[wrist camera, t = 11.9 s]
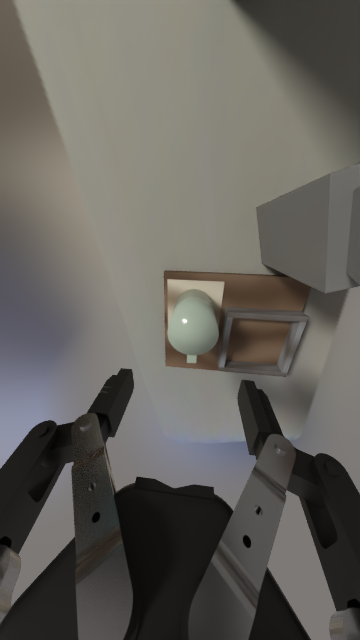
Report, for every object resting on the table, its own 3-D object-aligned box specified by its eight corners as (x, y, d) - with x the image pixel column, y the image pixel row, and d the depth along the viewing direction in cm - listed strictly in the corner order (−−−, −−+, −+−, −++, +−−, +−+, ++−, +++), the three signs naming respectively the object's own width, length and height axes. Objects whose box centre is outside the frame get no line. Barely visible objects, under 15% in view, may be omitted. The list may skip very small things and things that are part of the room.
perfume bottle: (318, 186, 20) (834, -19, 4) (317, 248, 22) (613, 285, 6) (256, 207, 21) (432, 126, 5) (261, 263, 24) (389, 324, 8)
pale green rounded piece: (214, 289, 25) (221, 312, 18) (209, 337, 28) (214, 371, 21) (175, 288, 25) (166, 310, 18) (175, 335, 29) (168, 369, 22)
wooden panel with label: (165, 270, 26) (161, 274, 23) (309, 276, 24) (323, 282, 21) (166, 362, 33) (163, 373, 30) (276, 371, 32) (283, 384, 29)
